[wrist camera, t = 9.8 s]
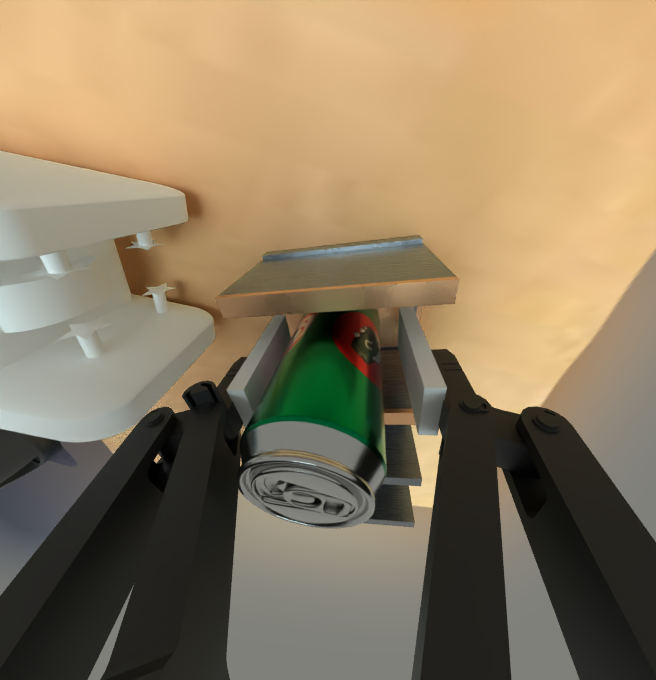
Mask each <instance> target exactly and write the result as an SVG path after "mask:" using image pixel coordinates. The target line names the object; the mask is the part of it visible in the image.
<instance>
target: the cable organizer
mask: <svg viewBox="0 0 656 680" xmlns="http://www.w3.org/2000/svg"><path fill="white" fill-rule="evenodd" d="M187 221H188V212H187V205H186V199H185V194H184V193H183V192H181V191H179V190H177V189H174V188H171V187H168V186H164V185H160V184H156V183H152V182H147V181H142V180H137V179H133V178H128V177H123V176H118V175H114V174H109V173H104V172H99V171H95V170H90V169H85V168H81V167H76V166H71V165H66V164H62V163H57V162H52V161H47V160H43V159H38V158H33V157H28V156H24V155H19V154H14V153H9V152H5V151H0V429H4V430H9V431H14V432H19V433H24V434H28V435H33V436H38V437H43V438H48V439H53V440H58V441H63V442H88V441H96V440H100V439H105V438H108V437H111V436H115V435H117V434H119V433H122V432H124V431H126V430H128V429H129V428H131V427H133V426H134V425H135V424H137V423H138V422H139V421H140V420H141V419H142V418H143V417H144V416H145V415H146V414H147V413H148V411H149V410H150V409H151V408H152V407H153V406H154V405H155V404H156V403H157V402H158V401H159V400H160V398H161V397H162V396H163V395H164V394H165V393H166V392H167V391H168V390H169V389H170V388H171V387H172V385H173V384H174V383H175V382H176V381H177V380H178V379H179V378H180V377H181V376H182V375H183V374H184V372H185V371H186V370H187V369H188V368H189V367H190V366H191V365H192V364H193V363H194V362H195V361H196V359H197V358H198V357H199V356H200V355H201V354H202V353H203V352H204V351H205V350H206V349H207V347H208V346H209V345H210V344H211V343H212V342H213V341H214V339H215V328H214V319H213V317H212V315H211V314H209V313H208V312H206V311H205V310H202V309H200V308H196V307H192V306H188V305H183V304H178V303H173V302H168V301H167V299H166V295H165V291H167V290H171V289H174V287H167V283H164V284H162V285H160V286H157V287H146V288H147V289H148V290H149V291H148V292H146V293H145V294H143V295H142V296H140V295H135V294H131V292H130V289H129V286H128V283H127V280H126V276H125V273H124V270H123V267H122V264H121V261H120V258H119V255H118V251H117V248H116V245H115V242H114V239H116V238H121V237H125V236H129V235H134V234H136V236H137V240H138V242H131V243H133V244H134V245H132V246H130V247H127V248H142V249H145V250H149V249H150V248H151V247H153V246H160V245H166V244H158V243H155V240H153V239H152V235H151V230H155V229H160V228H164V227H168V226H173V225H177V224H181V223H185V222H187ZM124 249H125V248H124ZM150 294H152V296H153V298H149V297H144V295H150Z"/></svg>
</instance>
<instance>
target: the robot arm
mask: <svg viewBox="0 0 656 680" xmlns="http://www.w3.org/2000/svg"><path fill="white" fill-rule="evenodd" d="M290 340H291V335H290V331H289V327H288V323H287V319H286V315H278V316H274V317H273V318H272V320H271V321H270V323H269V324H268V326H267V328H266V329H265V331H264V332H263V334H262V335H261V337H260V338H259V340H258V342H257V343H256V345H255V346H254V348H253V349H252V351H251V352H250V354H249V356H248V357H241V358H240V359H239V360H237V361H236V362H235V363H234V364H233V365H232V367H231V368H230V370H229V371H228V372H227V374H226V377H224V378H223V380H222V381H221V383H220V384H219V385H218V387H216V385H215V384H214V383H213V382H212V381H202V382H199V383H196V384H194V385H193V386H191V387H189V388H188V389H187V390H186V391H185V392H184V394H183V395H182V397H183V399H184V400H185V402H186V403H187V405H188V406H189V408H190V409H191V410H187V411H183V412H179V413H176V414H175V413H174V412H173V410H172V409H171V408H169V407H162V408H158V409H156V410H153V411H151V412H150V413H148V414H147V415H145V416H144V417H143V418H142V419H141V420H140V422H139V423H138V424H137V425H136V427H135V428H134V429H133V430H132V432H131V433H130V434H129V435H128V437H127V438H126V439H125V440H124V442H123V443H122V444H121V445H120V447H119V448H118V449H117V450H116V452H115V453H114V454H113V456H112V457H111V458H110V459H109V460H108V462H107V463H106V464H105V466H104V467H103V468H102V469H101V470H100V472H99V473H98V474H97V476H96V477H95V478H94V479H93V481H92V482H91V483H90V484H89V486H88V487H87V488H86V489H85V491H84V492H83V493H82V494H81V496H80V497H79V498H78V499H77V501H76V502H75V503H74V504H73V506H72V507H71V508H70V509H69V511H68V512H67V513H66V514H65V516H64V517H63V518H62V519H61V521H60V522H59V523H58V524H57V526H56V527H55V528H54V529H53V531H52V532H51V533H50V534H49V536H48V537H47V538H46V540H45V541H44V542H43V543H42V544H41V546H40V547H39V548H38V550H37V551H36V552H35V553H34V555H33V556H32V557H31V558H30V559H29V561H28V562H27V563H26V565H25V566H24V567H23V568H22V569H21V571H20V572H19V573H18V575H17V576H16V577H15V578H14V580H13V581H12V582H11V583H10V585H9V586H8V587H7V588H6V590H5V591H4V592H3V593H2V594H1V596H0V680H87V679H88V677H89V675H90V673H91V671H92V669H93V667H94V665H95V663H96V661H97V659H98V657H99V655H100V653H101V651H102V649H103V646H104V645H105V642H106V640H107V638H108V636H109V634H110V632H111V630H112V628H113V626H114V624H115V622H116V620H117V618H118V616H119V614H120V612H121V609H122V607H123V605H124V603H125V601H126V599H127V597H128V595H129V593H130V591H131V589H132V587H133V585H134V587H133V590H132V593H131V596H130V599H129V602H128V605H127V608H126V611H125V615H124V617H123V621H122V624H121V627H120V630H119V633H118V637H117V639H116V642H115V646H114V648H113V652H112V655H111V658H110V661H109V663H108V666H107V668H106V671H105V673H104V674H103V676H102V678H101V679H100V680H230V678H229V674H228V669H227V662H226V652H227V637H228V623H229V610H230V596H231V582H232V568H233V554H234V540H235V527H236V513H237V499H238V486H237V483H236V476H237V472H238V470H239V468H240V458H241V452H240V440H241V437H242V436H241V433H240V429H241V427H242V425H244V427H245V428H246V426H247V424H248V422H249V421H250V419H251V417H252V415H253V413H254V411H255V409H256V407H257V405H258V403H259V401H260V399H261V397H262V395H263V393H264V391H265V389H266V387H267V385H268V383H269V381H270V379H271V377H272V375H273V373H274V371H275V369H276V367H277V365H278V363H279V362H280V360H281V358H282V356H283V354H284V352H285V350H286V348H287V346H288V344H289V342H290ZM398 349H399V354H400V358H401V362H402V366H403V371H404V375H405V379H406V384H407V388H408V392H409V397H410V401H411V405H412V410H413V414H414V418H415V423H416V427H417V431H418V435H438V430H439V428H440V431H441V434H442V441H441V446H440V450H439V455H440V456H439V464H438V472H437V480H436V488H435V496H434V504H433V512H432V520H431V528H430V536H429V544H428V552H427V559H426V567H425V568H426V569H425V576H424V583H423V592H422V600H421V607H420V615H419V623H418V631H417V640H416V647H415V655H414V663H413V672H412V679H411V680H511V669H510V654H509V639H508V626H507V610H506V597H505V581H504V566H503V552H502V538H501V523H500V508H499V494H498V479H497V467H500V468H502V470H503V473H504V475H505V478H506V481H507V484H508V486H509V489H510V492H511V494H512V497H513V500H514V502H515V505H516V508H517V511H518V513H519V516H520V519H521V522H522V524H523V527H524V530H525V532H526V535H527V538H528V540H529V543H530V546H531V548H532V551H533V554H534V557H535V559H536V562H537V565H538V568H539V570H540V573H541V576H542V579H543V581H544V584H545V587H546V589H547V592H548V595H549V598H550V600H551V603H552V606H553V608H554V611H555V614H556V617H557V619H558V622H559V625H560V627H561V630H562V632H563V636H564V638H565V641H566V643H567V646H568V649H569V652H570V655H571V657H572V660H573V663H574V665H575V668H576V670H577V674H578V676H579V679H580V680H656V542H655V541H654V539H653V538H652V536H651V535H650V534H649V532H648V531H647V529H646V528H645V527H644V525H643V524H642V522H641V521H640V520H639V518H638V517H637V515H636V514H635V513H634V511H633V510H632V508H631V507H630V506H629V504H628V503H627V501H626V500H625V499H624V497H623V496H622V494H621V493H620V492H619V490H618V489H617V488H616V486H615V485H614V483H613V482H612V480H611V479H610V478H609V477H608V475H607V473H606V472H605V471H604V469H603V468H602V467H601V465H600V464H599V462H598V461H597V460H596V458H595V457H594V455H593V454H592V453H591V451H590V450H589V448H588V447H587V445H586V444H585V443H584V441H583V440H582V438H581V437H580V436H579V434H578V433H577V431H576V430H575V429H574V427H573V426H572V425H571V424H570V423H569V422H568V421H567V420H566V419H565V418H564V417H563V416H561V415H559V414H558V413H556V412H554V411H551V410H549V409H546V408H541V407H528V408H525V409H523V411H522V413H521V414H516V413H512V412H508V411H503V410H500V409H496V408H494V407H491V405H490V404H489V403H488V401H487V400H486V399H484V398H482V397H481V396H479V395H476V394H475V392H474V390H473V388H472V386H471V384H470V383H469V381H468V379H467V377H466V375H465V373H464V372H463V371H462V368H461V366H460V365H459V363H458V361H457V359H456V357H455V355H453V354H452V353H451V352H449V351H448V350H447V349H438V350H431V349H430V346H429V344H428V342H427V339H426V337H425V335H424V332H423V330H422V328H421V325H420V323H419V321H418V318H417V316H416V314H415V311H414V309H413V307H403V308H399V326H398ZM60 448H61V444H60V441H58V440H53V439H48V438H43V437H38V436H33V435H28V434H24V433H19V432H14V431H9V430H4V429H0V489H1V488H2V487H5V486H6V485H8V484H10V483H12V482H13V481H15V480H17V479H18V478H20V477H22V476H24V475H25V474H27V473H29V472H31V471H32V470H34V469H36V468H38V467H39V466H41V465H43V464H44V463H45V462H46V461H48V460H49V459H50V458H51V457H52V456H53V455H54V454H56V453H57V452H58V451H59V450H60ZM157 454H159V455H160V456H161V459H160V460H159V461H158V462H157V463H155V462H154V459H155V457H156V456H157Z"/></svg>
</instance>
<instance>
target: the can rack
mask: <svg viewBox="0 0 656 680" xmlns="http://www.w3.org/2000/svg"><path fill="white" fill-rule="evenodd" d="M422 240H423V239H422V238H421V237H420V236H410V237H401V238H392V239H383V240H374V241H365V242H355V243H346V244H337V245H328V246H319V247H310V248H301V249H292V250H283V251H274V252H267V253H266V254H264V255H263V256H262V257H263V260H262V261H261V262H260V263H259V264H257V265H256V266H255V267H254V268H253V269H251V270H250V271H249V272H248V273H246V274H245V275H244V276H243V277H241V278H240V279H239V280H238V281H236V282H235V283H234V284H233V285H231V286H230V287H229V288H228V289H226V290H225V291H224V292H223V293H221V294H220V295H219V296H218V297H216V298H215V299H216V302H217V304H218V306H219V309H220V311H221V314H222V316H223V318H238V317H254V316H270V315H286V319H287V323H288V327H289V331H290V335H291V338H292V336H293V334H294V332H295V330H296V328H297V326H298V324H299V322H300V320H301V318H302V316H303V314H304V313H316V312H332V311H347V310H363V309H378V311H379V320H380V340H381V361H382V381H383V402H384V422H385V442H386V463H387V472H386V477H385V480H384V482H383V483H382V485H381V487H380V488H379V490H378V491H377V493H376V494H375V496H374V497H375V502H376V503H375V510H374V513H373V515H372V516H371V517H370V518H369V519H368V520H367V521H365V522H364V523H368V524H382V525H393V526H405V527H414V523H415V522H414V516H413V510H412V503H411V497H410V491H409V485H410V486H421V482H422V477H421V472H420V467H419V463H418V458H417V453H416V448H415V443H414V439H413V434H412V429H411V425H416V423H415V418H414V414H413V410H412V405H411V401H410V397H409V392H408V388H407V384H406V379H405V375H404V371H403V366H402V362H401V358H400V354H399V349H398V326H399V308H403V307H413V309H414V311H415V314H416V316H417V318H418V321H419V323H420V317H421V306H425V305H441V304H455V299H456V293H457V287H458V282H459V279H458V278H457V277H456V276H455V275H454V274H453V273H452V272H451V271H450V270H449V269H448V268H447V267H446V266H445V265H444V264H443V263H442V262H441V261H440V260H439V259H438V258H437V257H436V256H435V255H434V254H433V253H432V252H431V251H430V250H429V249H428V248H427V247H426V246H425V245H424V244H423V243H422Z"/></svg>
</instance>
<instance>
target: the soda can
mask: <svg viewBox="0 0 656 680" xmlns="http://www.w3.org/2000/svg"><path fill="white" fill-rule="evenodd" d="M240 452H241V460H242V465H241V466H240V468H239V470H238V472H237V476H236V483H237V486H238V488H239V490H240V492H241V493H242V494H243V495H244V496H245V498H246V499H248V500H249V501H250V502H251V503H252V504H254V505H255V506H257V507H258V508H260V509H262V510H263V511H265V512H267V513H269V514H271V515H273V516H276V517H278V518H281V519H283V520H286V521H289V522H293V523H296V524H301V525H305V526H311V527H318V528H345V527H352V526H356V525H359V524H361V523H364V522H365V521H367V520H368V519H369V518H370V517H371V516H372V515H373V513H374V510H375V503H376V502H375V497H374V496H375V494H376V493H377V491H378V490H379V488H380V487H381V485H382V483H383V482H384V480H385V477H386V472H387V463H386V442H385V422H384V402H383V381H382V361H381V340H380V320H379V311H378V309H363V310H347V311H332V312H316V313H304V314H303V316H302V318H301V320H300V322H299V324H298V326H297V328H296V330H295V332H294V334H293V336H292V338H291V340H290V342H289V344H288V346H287V348H286V350H285V352H284V354H283V356H282V358H281V360H280V362H279V363H278V365H277V367H276V369H275V371H274V373H273V375H272V377H271V379H270V381H269V383H268V385H267V387H266V389H265V391H264V393H263V395H262V397H261V399H260V401H259V403H258V405H257V407H256V409H255V411H254V413H253V415H252V417H251V419H250V421H249V422H248V424H247V426H246V428H245V430H244V432H243V434H242V437H241V440H240Z"/></svg>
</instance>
